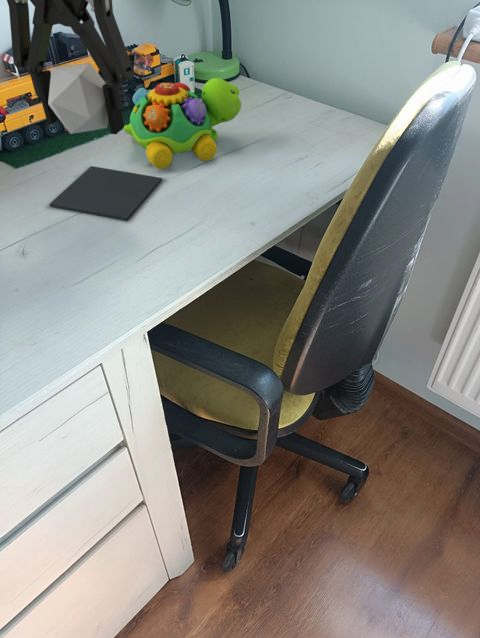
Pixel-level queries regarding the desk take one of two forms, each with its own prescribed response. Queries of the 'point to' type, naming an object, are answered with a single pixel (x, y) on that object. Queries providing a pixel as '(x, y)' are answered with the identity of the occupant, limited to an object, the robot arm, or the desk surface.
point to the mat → (107, 193)
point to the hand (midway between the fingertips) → (85, 125)
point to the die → (78, 97)
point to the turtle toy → (181, 119)
